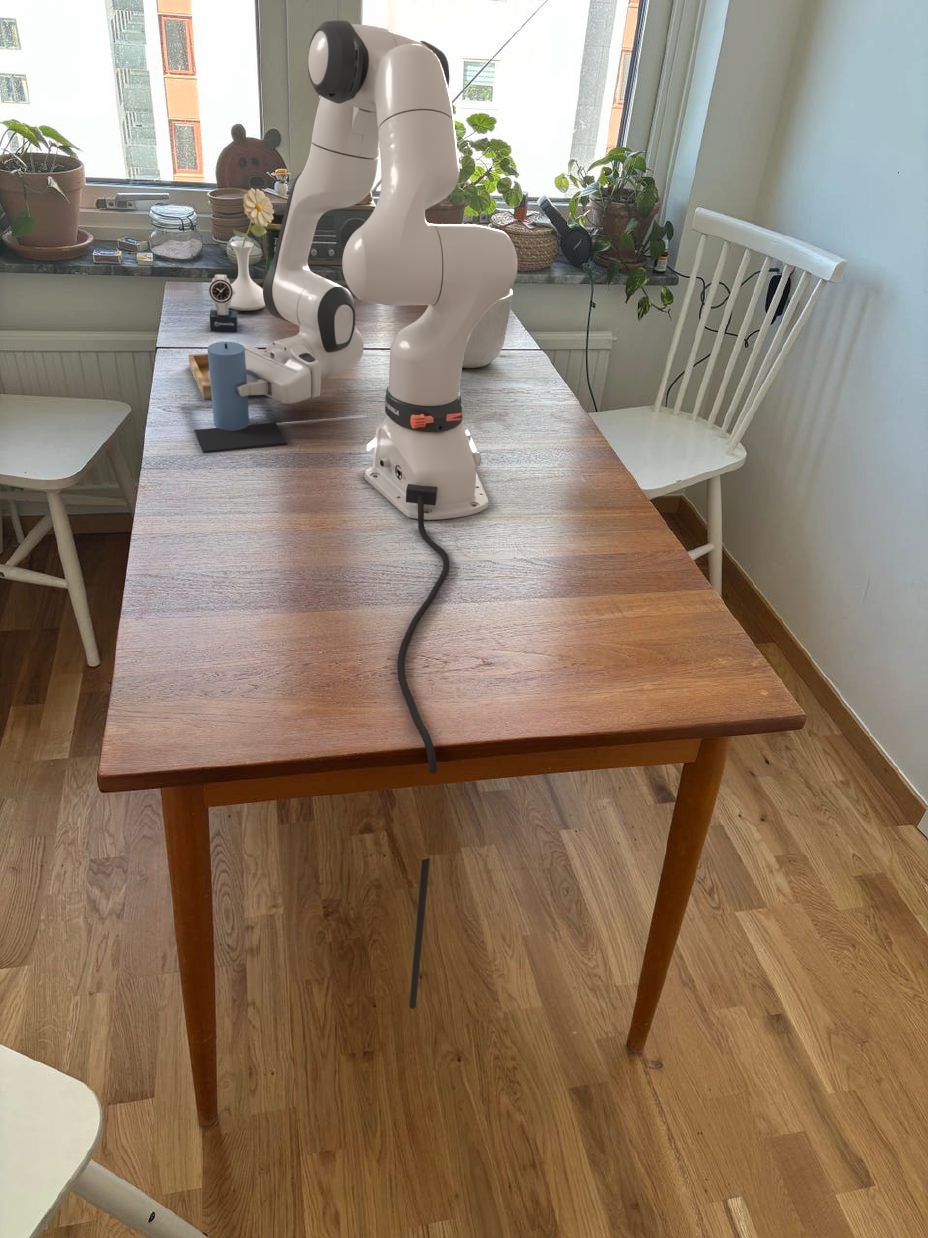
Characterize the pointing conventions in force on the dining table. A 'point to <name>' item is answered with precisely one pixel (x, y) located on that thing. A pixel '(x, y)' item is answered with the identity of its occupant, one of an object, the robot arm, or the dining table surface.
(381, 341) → the dining table surface
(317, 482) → the dining table surface
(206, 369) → the wooden tray
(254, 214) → the flower in vase
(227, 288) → the watch
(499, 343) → the planter
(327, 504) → the dining table surface
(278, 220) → the coffee jar
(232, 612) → the dining table surface
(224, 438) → the placemat
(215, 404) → the candle
